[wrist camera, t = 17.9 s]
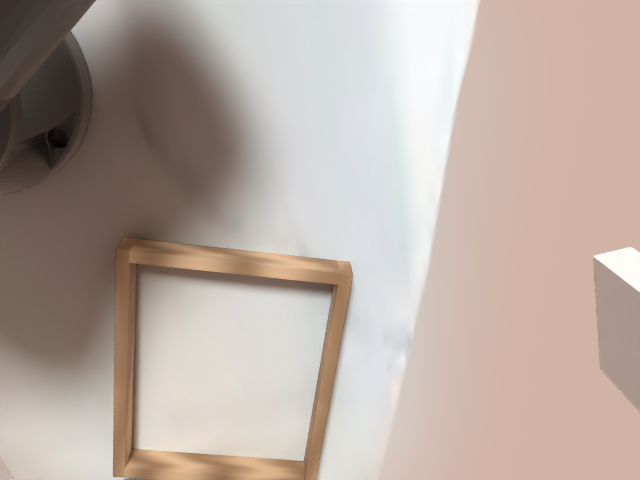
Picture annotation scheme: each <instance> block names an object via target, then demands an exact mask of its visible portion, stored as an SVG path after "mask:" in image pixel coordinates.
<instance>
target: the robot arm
mask: <svg viewBox="0 0 640 480" xmlns="http://www.w3.org/2000/svg"><path fill="white" fill-rule="evenodd" d="M95 1H96V0H0V195H1V194H7V193H12V192H16V191H19V190H22V189H25V188H28V187H30V186H32V185H35V184H37V183H38V182H40V181H42V180H43V179H45V178H47V177H48V176H50V175H51V174H53V173H54V172H55V171H57V170H58V169H60V168H61V167H62V166H63V165H64V164H65V163H66V162H67V161H68V160H69V159H70V158H71V157H72V156H73V154H74V153H75V152H76V150H77V149H78V147H79V145H80V144H81V142H82V140H83V138H84V136H85V133H86V130H87V127H88V124H89V119H90V114H91V105H92V94H91V83H90V77H89V72H88V69H87V65H86V62H85V59H84V56H83V54H82V51H81V49H80V47H79V45H78V43H77V41H76V39H75V37H74V35H73V34H72V32H71V29H72V28H73V27H74V26H75V25H76V23H77V22H78V21H79V20H80V19H81V17H82V16H83V15H84V14H85V13H86V12H87V10H88V9H89V8H90V7H91V6H92V4H93V3H94V2H95ZM593 265H594V281H595V295H596V296H595V297H596V313H597V328H598V343H599V360H600V369H601V370H602V371H603V372H604V373H605V374H606V375H607V377H608V378H609V379H610V380H611V381H612V382H613V383H614V384H615V386H616V387H617V388H618V389H619V390H620V391H621V392H622V393H623V394H624V395H625V397H626V398H627V399H628V400H629V401H630V402H631V403H632V404H633V406H634V407H635V408H636V409H637V410H638V411H639V412H640V253H639V252H638V251H637V250H635V249H633V248H632V247H629V248H624V249H620V250H616V251H612V252H608V253H604V254H599V255H596V256H593ZM0 480H14V479H13V478H12V476H11V474H10V473H9V471H8V469H7V468H6V466H5V464H4V463H3V461H2V459H1V458H0Z"/></svg>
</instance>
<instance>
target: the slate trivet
mask: <svg viewBox="0 0 640 480" xmlns="http://www.w3.org/2000/svg"><path fill="white" fill-rule="evenodd" d="M126 480H155V479H140V478H130V479H126Z"/></svg>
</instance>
